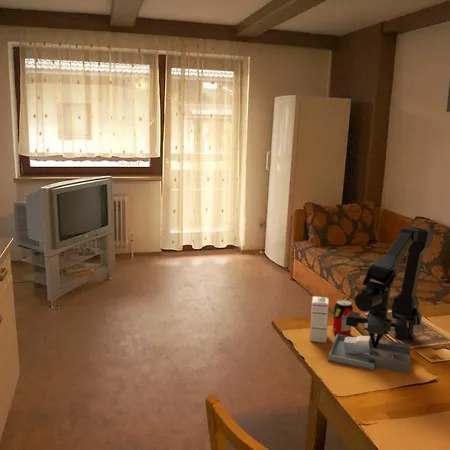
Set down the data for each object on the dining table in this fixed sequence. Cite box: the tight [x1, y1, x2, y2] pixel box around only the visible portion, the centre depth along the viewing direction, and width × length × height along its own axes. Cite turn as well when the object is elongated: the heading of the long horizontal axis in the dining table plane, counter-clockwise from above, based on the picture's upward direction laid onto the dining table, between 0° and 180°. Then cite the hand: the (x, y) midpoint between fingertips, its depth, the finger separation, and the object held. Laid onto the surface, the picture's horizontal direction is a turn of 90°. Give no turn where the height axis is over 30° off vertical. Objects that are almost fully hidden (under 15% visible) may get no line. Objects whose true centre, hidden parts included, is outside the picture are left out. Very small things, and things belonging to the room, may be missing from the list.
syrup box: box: [309, 295, 330, 344], centre depth 165 cm, size 6×6×14 cm
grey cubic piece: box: [356, 335, 371, 353], centre depth 155 cm, size 4×4×4 cm
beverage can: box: [332, 298, 354, 336], centre depth 169 cm, size 6×6×12 cm
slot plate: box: [368, 337, 412, 375], centre depth 153 cm, size 12×12×4 cm
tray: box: [327, 334, 376, 371], centre depth 157 cm, size 16×14×2 cm
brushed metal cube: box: [344, 336, 357, 354], centre depth 157 cm, size 4×4×4 cm
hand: (374, 347), depth 154 cm, fingers closed
